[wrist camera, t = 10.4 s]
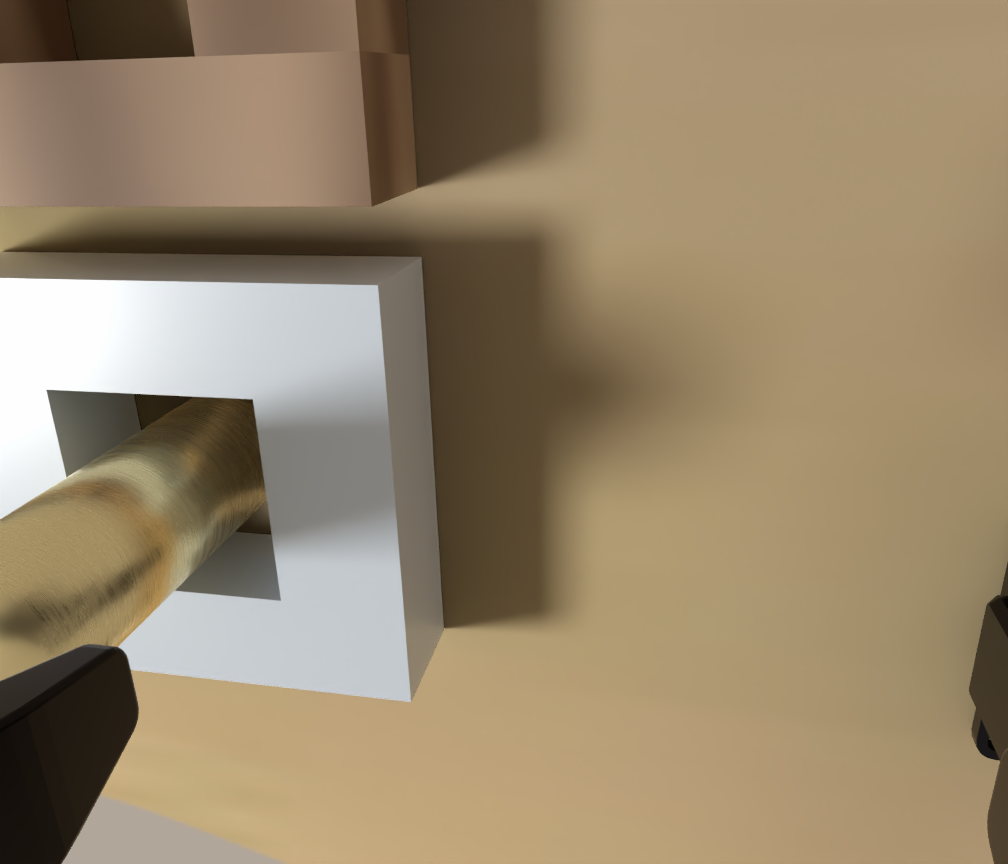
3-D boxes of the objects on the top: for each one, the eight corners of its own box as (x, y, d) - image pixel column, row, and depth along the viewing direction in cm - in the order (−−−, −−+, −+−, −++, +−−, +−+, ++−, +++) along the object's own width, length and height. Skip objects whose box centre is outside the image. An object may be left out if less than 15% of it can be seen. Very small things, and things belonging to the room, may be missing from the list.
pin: (282, 391, 22) (34, 578, 14) (296, 506, 23) (76, 743, 15) (166, 386, 22) (-138, 562, 14) (186, 498, 24) (-84, 721, 15)
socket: (421, 256, 20) (377, 285, 17) (443, 629, 23) (411, 702, 21) (-1, 251, 22) (-99, 276, 19) (81, 593, 26) (8, 655, 23)
